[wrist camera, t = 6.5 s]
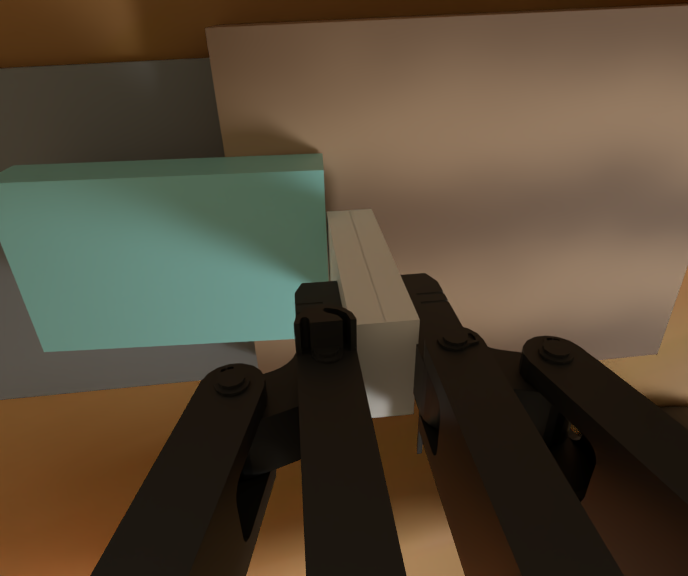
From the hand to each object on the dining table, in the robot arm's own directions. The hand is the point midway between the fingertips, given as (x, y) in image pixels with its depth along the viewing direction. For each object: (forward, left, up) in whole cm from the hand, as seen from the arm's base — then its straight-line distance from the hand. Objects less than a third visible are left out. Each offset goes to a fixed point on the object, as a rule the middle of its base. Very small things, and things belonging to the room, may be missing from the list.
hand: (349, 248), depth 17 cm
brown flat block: (0, -5, -5) cm, 7 cm away
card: (0, +6, -1) cm, 6 cm away
